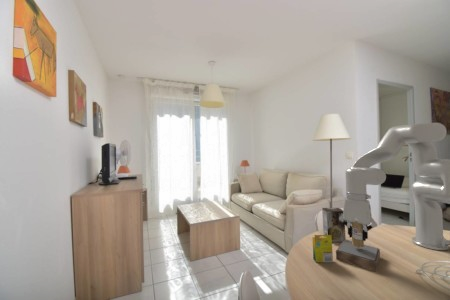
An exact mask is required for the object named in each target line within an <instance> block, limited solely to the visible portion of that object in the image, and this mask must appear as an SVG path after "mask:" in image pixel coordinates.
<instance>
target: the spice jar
mask: <svg viewBox="0 0 450 300" xmlns="http://www.w3.org/2000/svg"><path fill="white" fill-rule="evenodd" d="M355 220H357V221H358V219H357V218H355ZM357 221H356V222H352V224H351V226H352V237H351V242H352V245H354V246H356V247H364V245H365V241H364V240H363V230H364V228H363V225H362V224H360V223H358V222H357Z"/></svg>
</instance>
